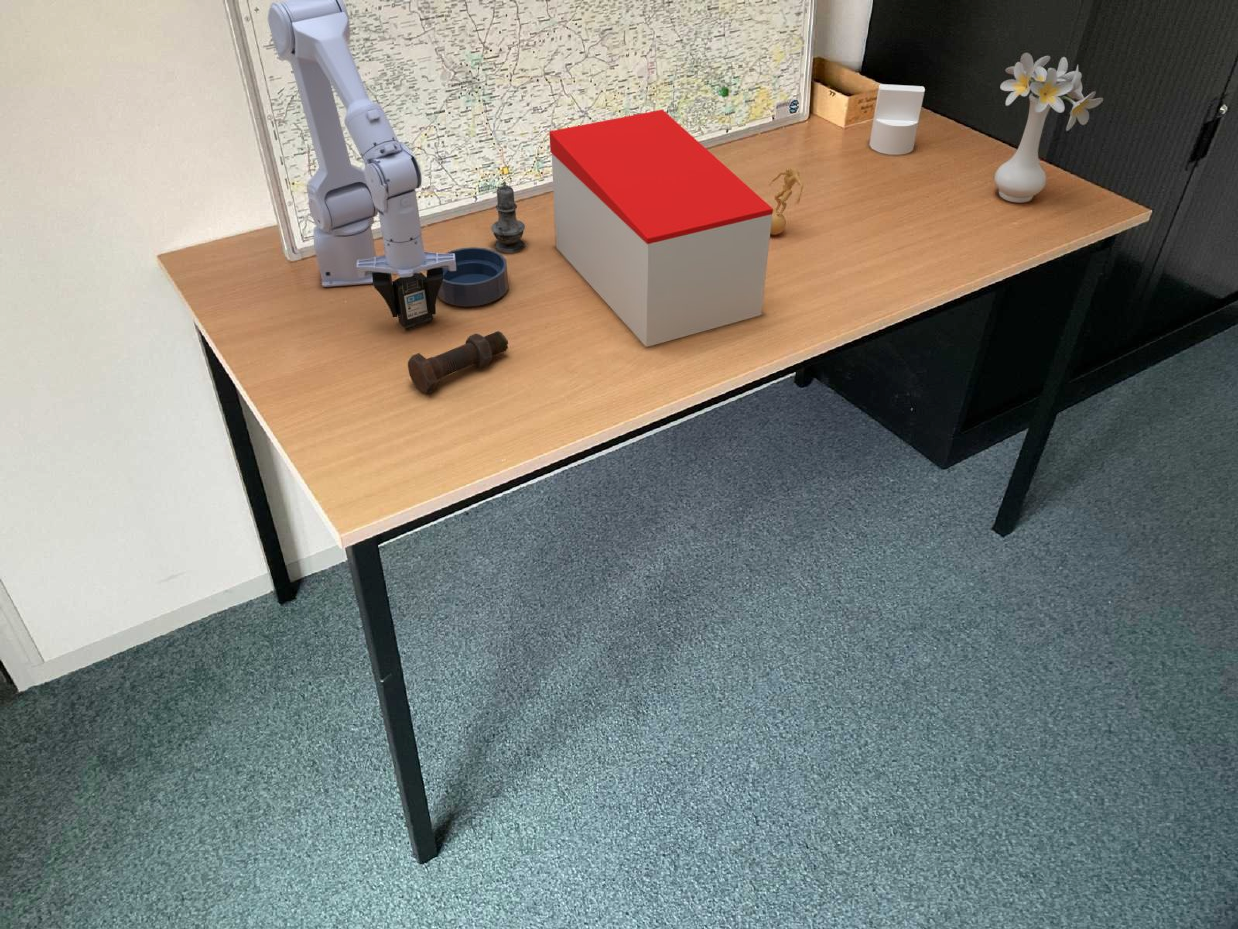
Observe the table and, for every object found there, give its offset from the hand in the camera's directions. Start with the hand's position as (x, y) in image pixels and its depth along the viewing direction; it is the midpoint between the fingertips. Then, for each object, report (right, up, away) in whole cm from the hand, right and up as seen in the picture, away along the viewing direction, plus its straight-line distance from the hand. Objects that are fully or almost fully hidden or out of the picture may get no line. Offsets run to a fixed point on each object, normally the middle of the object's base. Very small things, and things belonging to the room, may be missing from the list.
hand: (414, 312), depth 156 cm
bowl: (+8, +5, +9) cm, 13 cm away
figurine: (+60, +18, +24) cm, 67 cm away
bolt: (+9, -10, -8) cm, 16 cm away
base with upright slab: (+88, +42, +52) cm, 111 cm away
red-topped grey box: (+37, +7, +12) cm, 40 cm away
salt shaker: (+13, +15, +20) cm, 28 cm away
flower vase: (+108, +27, +34) cm, 116 cm away
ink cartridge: (0, -2, +1) cm, 2 cm away
